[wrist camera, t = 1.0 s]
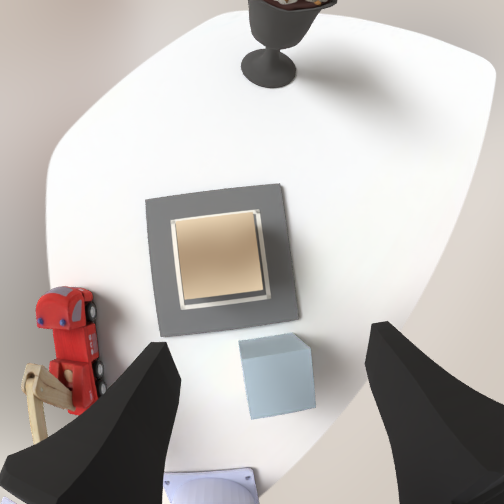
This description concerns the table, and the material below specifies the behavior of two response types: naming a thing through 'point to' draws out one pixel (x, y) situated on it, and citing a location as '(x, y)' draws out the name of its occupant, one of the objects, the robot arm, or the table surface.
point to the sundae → (278, 37)
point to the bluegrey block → (277, 375)
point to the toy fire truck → (65, 358)
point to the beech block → (218, 255)
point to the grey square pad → (231, 305)
